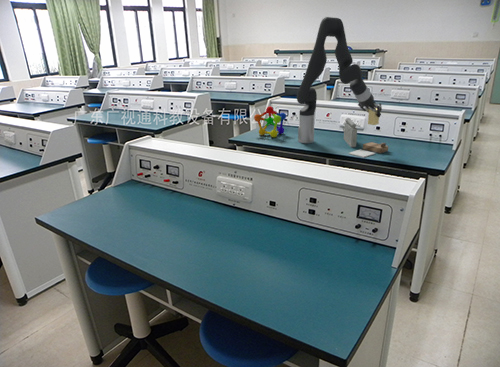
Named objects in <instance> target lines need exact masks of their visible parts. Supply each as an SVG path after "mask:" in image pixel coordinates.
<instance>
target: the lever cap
mask: <svg viewBox="0 0 500 367" xmlns="http://www.w3.org/2000/svg"><path fill="white" fill-rule="evenodd" d="M376 110H377V109H376ZM367 118H368V119H367V125H372V126H375V125H379V121H380V117H377V115H376V113H375V112H374V111H372V110H371V109H370V110H369V113H368V117H367Z"/></svg>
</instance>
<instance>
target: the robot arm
mask: <svg viewBox="0 0 500 367" xmlns="http://www.w3.org/2000/svg"><path fill="white" fill-rule="evenodd" d="M316 35H317V36H316V39H315V43H314V47H313V50H312V53H311V55H310V59H309V60H308V64H307V67H306V71H305V73H304V76H303V79H302V81H301V83H300V85H299V88H298V90H297V93H296V102H297V103H298V104H299V105H304V106H303V107H302V108H301V109H299V126H298V127H297V128H298V129H297V130H298V132H297V138H298V140H297V141H298V142H299V143H301V144H311V143H314V142H315V112H316V110H317V98H318V97H317V95H318V94H317V91H316V89H315V88H314V87H312V85H313V84H314V83H315V82H316V81H317V79H319V78H320V76H321V75H322V74H323V72H324V70H325V66H326V64H327V60H328V58H327V53H326V48H325V43H326V39H327V37H334V38H335V39H336V41H337V43H336V45H335V49H334V55H335V59H336V60H337V64H338V75H339V81H340V83H342V84H344V85H349V88H350V90H351V91H352V93H353V94H354V97H355V99H356V100H357V101H358V103H357V106H358V107H359V108H360V109H361V110H362V111H363V112H367V113H368V114H369V110H370V109H371V110H372V111H374V112H375V113H376V115H377V117H379V118H380V117H381V116H382V113H381V112H382V110H383V108H382V106H383V105H382V103H381V102H380V103H377V102H376V101H375V98H374V96H373V94H372V92H371V91H370V89H369V87H368V86H367V84H366V83H365V81H364V78H363V75H362V73H363V72H362V69H361V67H360V65H359V64H357V63H353V61H354V59H353V57H352V55H351V52H350V49H349V46H348V43H347V38H346V37H347V36H346V31H345V26H344V23H343V21H342V19H341V18H339V17H332V16H324V17H323V18H322V20H321V22H320V24H319V27H318V32H317V34H316ZM376 109H377V110H376Z"/></svg>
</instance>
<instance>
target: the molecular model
mask: <svg viewBox="0 0 500 367" xmlns="http://www.w3.org/2000/svg"><path fill="white" fill-rule="evenodd" d="M267 114H268V117H267V118H264V117H263V116H265V115H267ZM286 118H287V114H286V113H285V112H277V111H275V110H274V108H273V106H271V105H270V106H267V107H266V108H265V111H264V112H262V113H261V114H259V113H257V114H254V116H253V119H254V121H255V122H257V124H258V127H259V130H258V134H259V136H264V135H270V137H271V138H276V137H277V136H278V134H279V135H282V134H284V132H285V128H284V127H283V126H284V125H283V123H284V120H287V119H286ZM261 121H263V122H264V121H265V122H266V123H265V125H264V127H263V126H262V124H261ZM278 123H280V125H279V126H278ZM269 125H272V126H273V129H272V130H270V131H266V129H267V128H268V127H269Z"/></svg>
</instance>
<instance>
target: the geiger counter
mask: <svg viewBox="0 0 500 367" xmlns="http://www.w3.org/2000/svg"><path fill="white" fill-rule="evenodd" d="M344 121H345V122H344V125H342V129H343V130H342V132H343V140H344V141H345V143H346V144H347V145H348V147H350V148H356V147H357V138H358V129H357V124H356V123H355V122H354V121H353V120H351V118H349V117H346V118H345V119H344Z"/></svg>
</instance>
